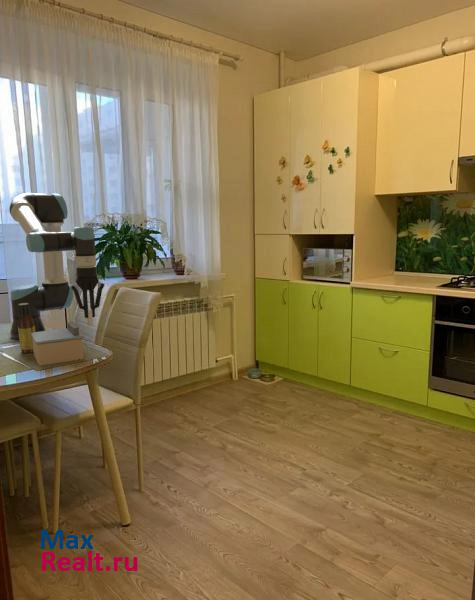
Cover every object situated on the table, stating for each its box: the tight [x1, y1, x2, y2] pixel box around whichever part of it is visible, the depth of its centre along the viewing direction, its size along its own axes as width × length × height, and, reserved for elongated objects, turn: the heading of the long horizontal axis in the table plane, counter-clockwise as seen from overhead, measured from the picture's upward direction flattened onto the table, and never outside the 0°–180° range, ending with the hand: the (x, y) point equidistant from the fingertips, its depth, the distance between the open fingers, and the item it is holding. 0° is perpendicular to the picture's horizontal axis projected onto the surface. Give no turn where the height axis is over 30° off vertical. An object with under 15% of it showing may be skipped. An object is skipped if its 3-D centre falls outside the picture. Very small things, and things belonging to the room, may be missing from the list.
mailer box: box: [32, 338, 85, 367], centre depth 182 cm, size 16×16×8 cm
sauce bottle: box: [18, 303, 35, 354], centre depth 190 cm, size 7×6×20 cm
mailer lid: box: [31, 321, 85, 344], centre depth 181 cm, size 17×17×4 cm
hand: (90, 325), depth 187 cm, fingers closed
